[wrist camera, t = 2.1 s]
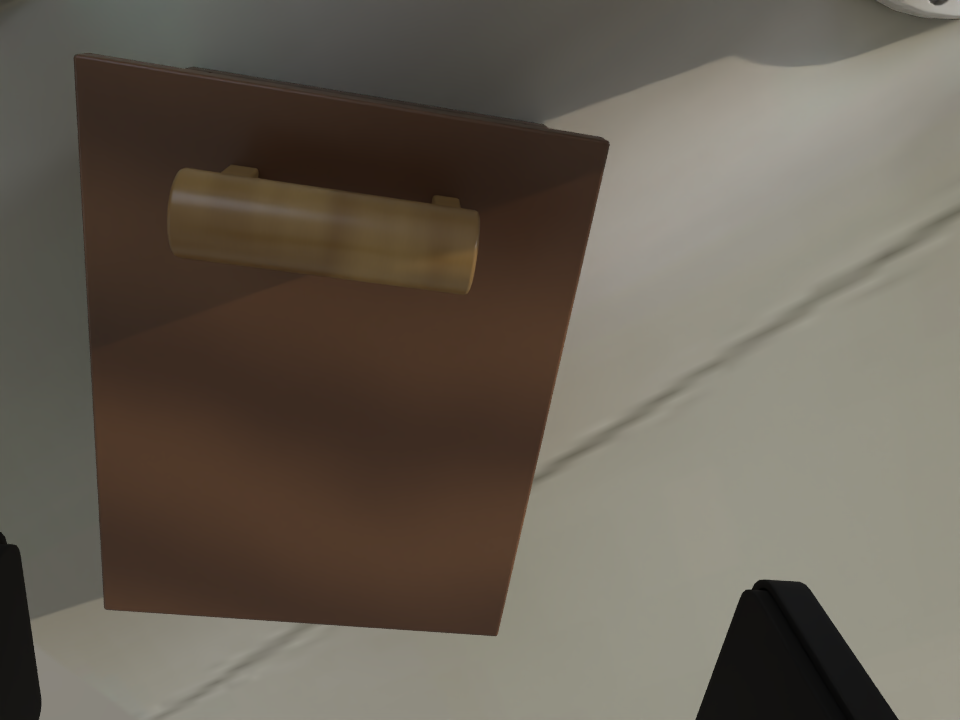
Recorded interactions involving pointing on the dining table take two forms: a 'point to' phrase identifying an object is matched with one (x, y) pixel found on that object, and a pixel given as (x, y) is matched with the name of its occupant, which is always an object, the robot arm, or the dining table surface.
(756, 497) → the dining table surface
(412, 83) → the dining table surface
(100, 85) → the chest lid
